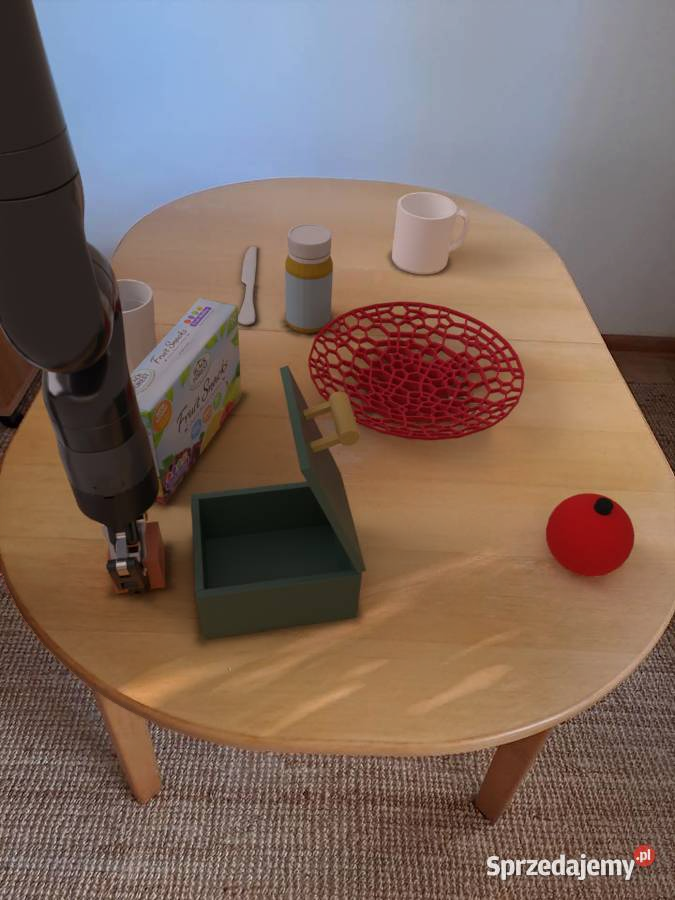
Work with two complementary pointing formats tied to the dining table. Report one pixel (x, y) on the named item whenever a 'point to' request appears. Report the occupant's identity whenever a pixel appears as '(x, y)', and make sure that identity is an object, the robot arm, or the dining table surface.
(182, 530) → the dining table surface
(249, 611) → the chest
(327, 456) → the lid
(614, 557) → the ornament
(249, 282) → the butter knife
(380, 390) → the bowl
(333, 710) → the dining table surface
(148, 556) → the block
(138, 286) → the cup
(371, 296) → the dining table surface
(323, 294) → the bottle
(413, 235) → the mug
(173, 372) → the snack box
